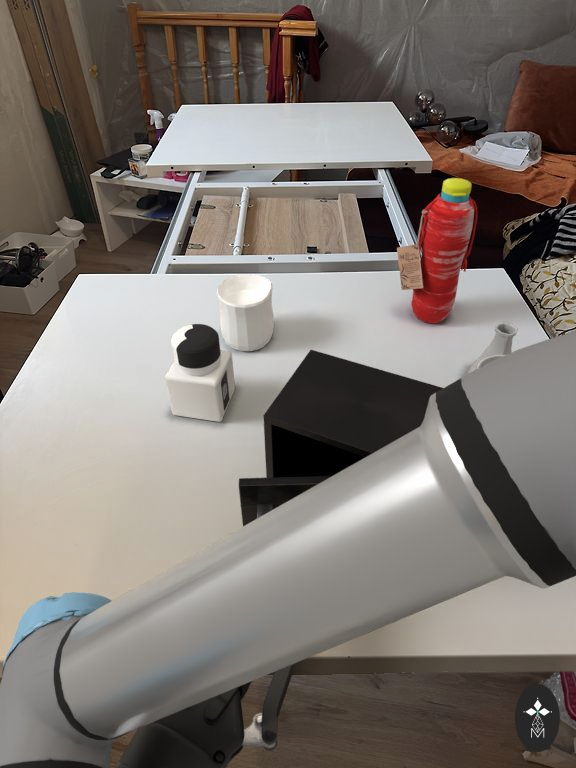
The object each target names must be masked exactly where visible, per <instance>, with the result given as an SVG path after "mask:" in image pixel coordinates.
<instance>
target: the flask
mask: <svg viewBox="0 0 576 768" xmlns="http://www.w3.org/2000/svg"><path fill="white" fill-rule="evenodd" d="M518 331H519V328H518V327H517V326H516V325H514V324H513V323H509V322H506V321H502V322H501V321H500V322H498V323H496V325H495V327H494V332H495V333H494V337H493V339H492V340H491V342H490V344H489V345H488V346H487V347H486V349H485V350H484V351H483V352H482V353H481V355H480V356H479V357H478V358H477V359H476V360H475V361H474V363H472V365H471V366H470V367H469V369H468V372H467V374H469V373H471V372H472V371H474V370H476V367H477V365H478V363H479V362H480V361H481V360H483V359H484V358H486V357H489V356H493V355H507V354H510V353H512V352H513V351H512V348H513V347H512V346H513V338H514V337H516V335H517V333H518Z"/></svg>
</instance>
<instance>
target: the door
mask: <svg viewBox="0 0 576 768" xmlns="http://www.w3.org/2000/svg"><path fill="white" fill-rule="evenodd" d="M330 477H332V476H310V477H272V478H266V477H240V478H238V493H239V503H240V510H241V511H240V512H241V513H240V514H241V521H242V527H243V526H245V525H247V524H249V523H250V522H252V521H254V520H256V519H258V518H259V517H261V516H263V515H265V514H266V513H268V512H270V511H272V510H273V509H275V508H277V507H279V506H281V505H282V504H284V503H286V502H288V501H289V500H291V499H293V498H295V497H296V496H298V495H300V494H302V493H303V492H305V491H307V490H309V489H311V488H312V487H314V486H316V485H318V484H319V483H321V482H323V481H325V480H326V479H328V478H330Z"/></svg>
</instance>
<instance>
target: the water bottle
mask: <svg viewBox="0 0 576 768" xmlns="http://www.w3.org/2000/svg"><path fill="white" fill-rule="evenodd" d="M472 186H473V185H472V182H470V181H469V180H468V179H464V178H459V177H451V178H447V179H445V180H443V182H442V186H441V187H442V188H441V192H440V193H438V195H437V196H436V197H435V198H434V199H433V200H431V202H430V203H429V204H427V205H426V207H425V208H424V209H422V210H421V218H420V222H419V228H418V234H417V240H416V244H409V245H403V246H398V247H396V252H397V261H398V271H399V279H400V288H401V291H408V290H412V298H411V303H410V304H411V309H412V313H413V315H414V316H415V317H416V318H417V320H420V321H421V322H424V323H426V324H438V323H442V322H443V321H444V320H445V319H447V318H448V317H449V316H450V314H451V313H452V311H453V310H454V305H455V301H456V298H457V292H458V285H459V278H460V272H461V271H463V272H465V273H466V271H467V267H468V259H467V258H468V257H469V256H470V254H471V251H472V248H473V247H472V246H473V244H474V243H473V242H474V239H475V234H476V229H477V222H478V218H479V217H478V215H479V214H478V206H477V203H476V201H475V200H474V199H472V197H471V195H470V194H471V191H472ZM471 235H472V236H471ZM470 239H471V240H470ZM469 243H470V244H469ZM468 247H469V248H468Z"/></svg>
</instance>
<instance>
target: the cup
mask: <svg viewBox="0 0 576 768" xmlns="http://www.w3.org/2000/svg"><path fill="white" fill-rule="evenodd" d="M273 289H274V287H273V283H272V282H271V281H270V279H268V278H267V277H264V276H262V275H257V274H251V273H250V274H249V273H241V274H235V275H232V276H229V277H227V278H225V279H223V281H222V282H221V283H220V284H219V285H218V287H217V289H216V296H217V298H218V305H219V314H220V331H221V332H220V333H221V336H222V338H223V340H224V343H225V344H227V345H228V347H231V348H232V349H233V350H237V351H240V352H253V351H258V350H259V349H262V348H264V347H266V346H267V344H268V343H269V342H270V341H271V339H272V337H273V333H274V328H275V317H274V309H273V298H272V297H273Z"/></svg>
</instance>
